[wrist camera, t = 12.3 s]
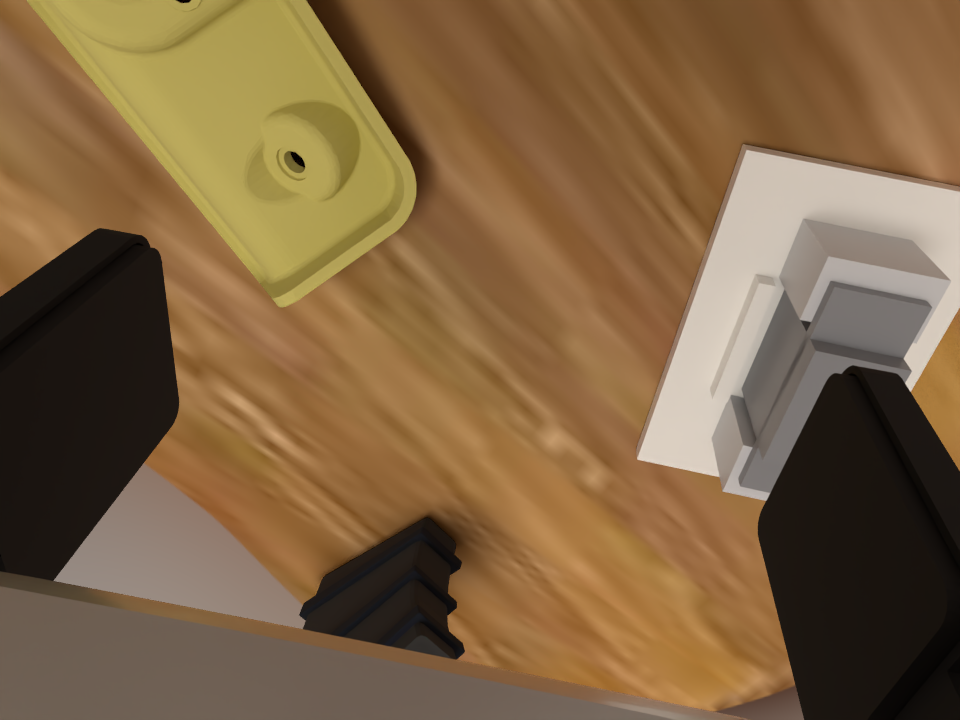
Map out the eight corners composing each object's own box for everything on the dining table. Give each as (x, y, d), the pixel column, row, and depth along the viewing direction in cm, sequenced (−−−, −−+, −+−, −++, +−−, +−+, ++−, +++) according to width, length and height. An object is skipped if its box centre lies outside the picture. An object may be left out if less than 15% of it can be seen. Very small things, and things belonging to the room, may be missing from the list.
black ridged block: (281, 608, 52) (261, 770, 38) (415, 484, 52) (447, 601, 38) (318, 638, 53) (313, 807, 39) (450, 517, 53) (493, 643, 39)
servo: (805, 240, 34) (848, 309, 28) (891, 258, 34) (952, 330, 28) (725, 425, 40) (746, 514, 34) (798, 441, 40) (832, 533, 34)
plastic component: (437, 202, 34) (262, 325, 34) (407, 181, 41) (261, 284, 41) (132, -271, 25) (-108, -109, 25) (157, -200, 32) (-33, -72, 32)
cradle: (743, 143, 33) (765, 180, 28) (1008, 196, 33) (1075, 241, 28) (636, 448, 43) (640, 512, 38) (840, 492, 42) (869, 562, 38)
